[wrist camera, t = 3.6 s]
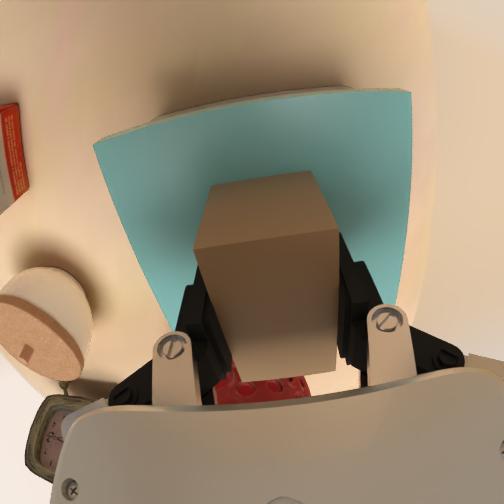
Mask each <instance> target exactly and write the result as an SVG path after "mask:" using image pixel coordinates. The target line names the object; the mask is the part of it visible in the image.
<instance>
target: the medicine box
mask: <svg viewBox="0 0 504 504" xmlns="http://www.w3.org/2000/svg"><path fill="white" fill-rule="evenodd" d="M28 190H29V185H28V180H27V174H26V169H25V163H24V156H23V149H22V141H21V131H20V122H19V107H18V104H17V103H13V104H8V105H3V106H0V215H1V214H2V213H3V212H4V211H5V210H6V209H7V208H8V207H10V206H11V205H12V204H13V203H14V202H15V201H16V200H17V199H18V198H19V197H20V196H21V195H22V194H23V193H25V192H26V191H28Z"/></svg>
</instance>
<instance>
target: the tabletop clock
mask: <svg viewBox="0 0 504 504" xmlns="http://www.w3.org/2000/svg"><path fill="white" fill-rule="evenodd" d="M59 385H60V387H61V388H62V389H64V395H60V394H56V395H50V396H47V397H46V399H45V400H44V401H43V402H42V404H41V406H40V407H39V410H38V411H37V414H36V416H35V418H34V421H33V423H32V426H31V428H30V432H29V436H28V440H27V444H26V449H25V465H26V466H27V467H28V469H29V470H30V471H31V472H33V473H34V474H35V475H37V476H39V477H41V478H43V479H44V480H46V481H48V482H50V483H52V484H53V481H54V476H55V471H56V467H57V464H58V460H59V456H60V452H61V449H62V446H63V443H64V441H63V437H62V433H61V424H62V421H63V420H64V418H65V417H66V416H67V415H69V414H70V413H73V412H75V411H77V410H79V409H81V408H83V407H85V406H87V405H89V404H91V403H93V402H95V401H94V400H90V399H86V398H82V397H78V396H69V395H68V392H67V388H68V382H67V381H60V382H59Z"/></svg>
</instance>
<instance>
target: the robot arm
mask: <svg viewBox="0 0 504 504" xmlns="http://www.w3.org/2000/svg"><path fill="white" fill-rule="evenodd" d="M337 346H338V350H339V354H340V358H345V359H346V363H347V365H352V366H353V367H355V368H357V369H359V388H358V389H353V390H348V391H342V392H337V393H331V394H324V395H318V396H311V397H304V398H296V399H287V400H278V401H268V402H257V403H243V404H225V405H218V401H217V395H216V389H215V385H217V384H218V383H219V382H220V380H226V378H227V372H231V367H232V355H231V352H230V349H229V347H228V344H227V342H226V339H225V337H224V334H223V331H222V329H221V326H220V323H219V321H218V318H217V315H216V313H215V310H214V307H213V304H212V302H211V300H210V297H209V294H208V292H207V289H206V286H205V283H204V280H203V278H202V275H201V272H200V269H199V266H198V265H197V270H196V274H195V279H194V283H193V284H192V285H187V286H186V287H185V290H184V294H183V298H182V303H181V307H180V311H179V315H178V320H177V324H176V328H175V332H169V333H167V334H165V335H163V336H161V337H160V338H159V339H158V340H157V341H156V343H155V345H154V348H153V359H152V360H150V361H149V362H148V363H146V364H145V365H144V366H142V367H141V368H140V369H138V370H137V371H136V372H134V373H133V374H132V375H130V376H129V377H128V378H126V379H125V380H124V381H122V382H121V383H120V384H118V385H117V386H116V387H115V388H114V389H113V390H112V391H111V393H110V394H109V398H107V399H105V398H104V397H103V398H101V399H99V400H97V401H95V402H93V403H91V404H89V405H87V406H85V407H83V408H81V409H79V410H77V411H75V412H73V413H70V414H69V415H67V416H66V417H65V418H64V420H63V421H62V424H61V433H62V437H63V441H64V443H63V446H62V449H61V452H60V456H59V460H58V464H57V467H56V471H55V476H54V481H53V487H52V493H51V500H50V504H504V362H503V361H499V360H495V359H490V358H486V357H482V356H477V355H474V354H470V353H469V355H468V356H465V355H463V353H462V352H461V350H460V349H459V348H457V347H456V346H454V345H452V344H450V343H448V342H446V341H443V340H441V339H438V338H436V337H434V336H432V335H430V334H427V333H425V332H423V331H421V330H418V329H416V328H414V327H412V326H409V323H408V318H407V316H406V313H405V312H404V311H403V310H402V309H401V308H399V307H397V306H395V305H391V304H383V301H382V299H381V297H380V294H379V292H378V290H377V288H376V285H375V283H374V281H373V279H372V276H371V274H370V272H369V270H368V268H367V266H366V264H365V262H364V261H357V262H354V261H353V259H352V257H351V255H350V252H349V250H348V248H347V245H346V243H345V241H344V239H343V236H342V234H341V232H339V300H338V329H337Z"/></svg>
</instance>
